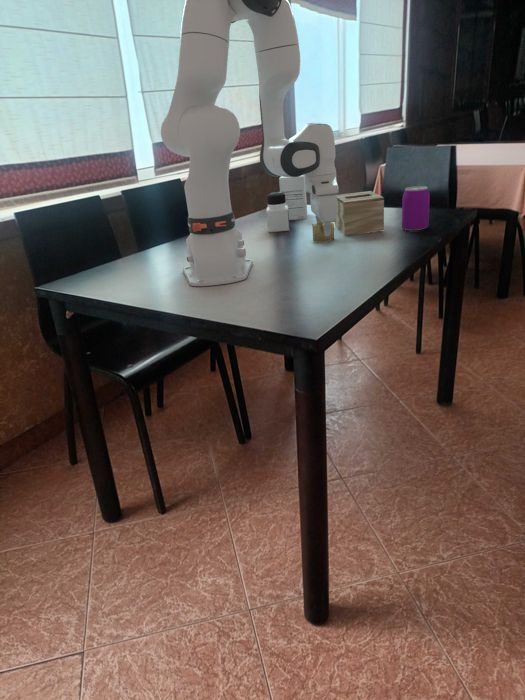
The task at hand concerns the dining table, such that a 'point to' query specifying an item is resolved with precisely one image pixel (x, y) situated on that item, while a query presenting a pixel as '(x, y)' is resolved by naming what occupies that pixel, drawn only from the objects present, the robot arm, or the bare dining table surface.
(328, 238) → the yellow block
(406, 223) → the beverage can
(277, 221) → the medicine bottle
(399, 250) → the dining table surface
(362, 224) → the coin box
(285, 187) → the supplement box
